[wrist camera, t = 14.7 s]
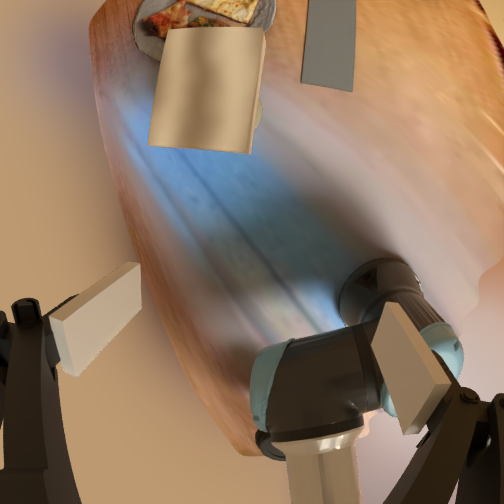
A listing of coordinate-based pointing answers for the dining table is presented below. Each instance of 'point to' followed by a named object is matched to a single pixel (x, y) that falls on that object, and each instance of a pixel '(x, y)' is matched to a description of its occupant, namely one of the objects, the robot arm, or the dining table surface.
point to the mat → (330, 44)
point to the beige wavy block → (208, 89)
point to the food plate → (194, 18)
